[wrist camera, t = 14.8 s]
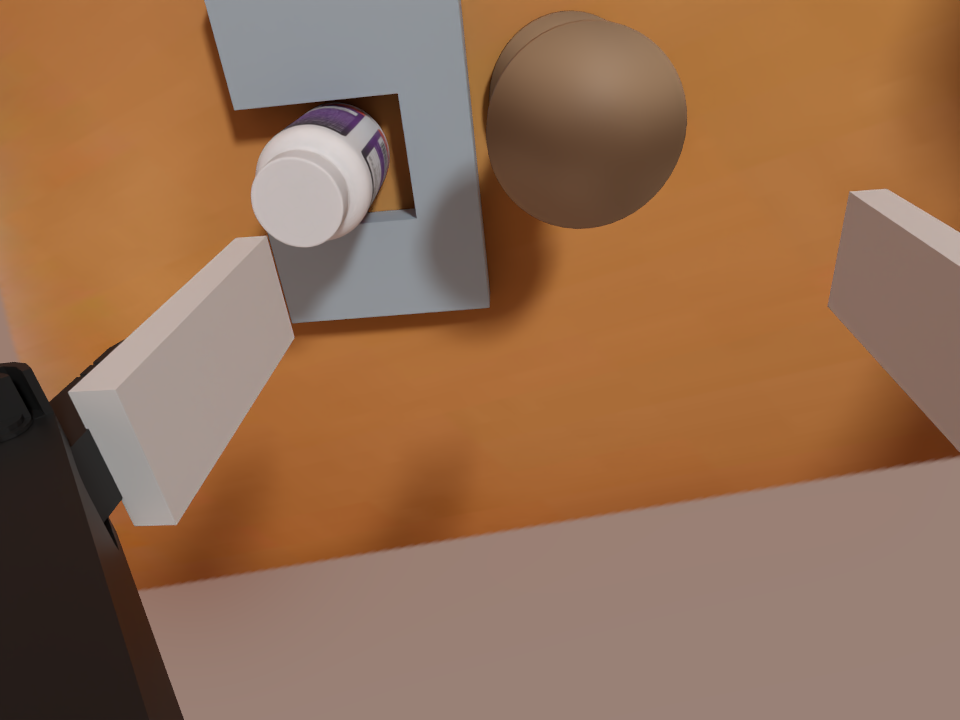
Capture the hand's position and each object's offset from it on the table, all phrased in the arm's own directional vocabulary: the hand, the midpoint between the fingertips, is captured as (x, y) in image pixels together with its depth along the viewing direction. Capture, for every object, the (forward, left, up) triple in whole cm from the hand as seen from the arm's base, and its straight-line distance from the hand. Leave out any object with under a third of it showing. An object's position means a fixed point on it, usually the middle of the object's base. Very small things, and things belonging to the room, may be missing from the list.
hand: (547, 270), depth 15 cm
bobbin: (0, +2, -23) cm, 23 cm away
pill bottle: (+1, -10, -23) cm, 25 cm away
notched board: (+2, -9, -23) cm, 24 cm away
